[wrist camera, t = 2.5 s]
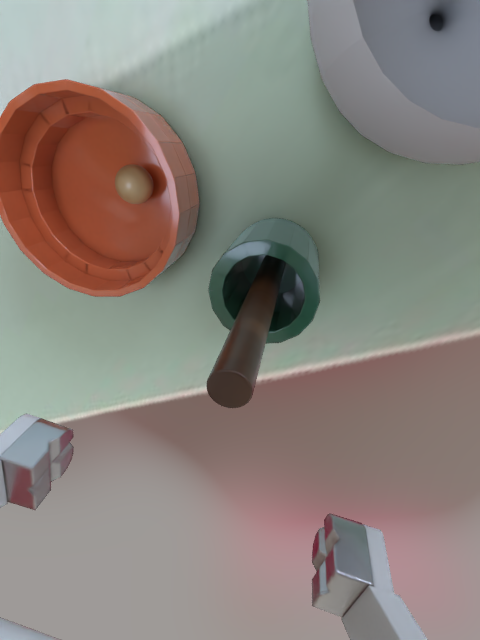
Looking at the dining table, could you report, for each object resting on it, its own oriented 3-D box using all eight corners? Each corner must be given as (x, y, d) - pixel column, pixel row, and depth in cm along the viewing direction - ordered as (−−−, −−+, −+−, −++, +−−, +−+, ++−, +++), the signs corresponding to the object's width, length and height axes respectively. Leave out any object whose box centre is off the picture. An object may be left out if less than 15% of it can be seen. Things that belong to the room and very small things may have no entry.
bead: (161, 168, 29) (145, 171, 26) (157, 205, 30) (141, 211, 27) (127, 159, 29) (108, 160, 26) (124, 196, 30) (106, 201, 28)
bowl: (216, 119, 27) (194, 113, 22) (186, 293, 34) (164, 318, 29) (35, 71, 28) (-24, 55, 23) (43, 251, 35) (0, 267, 30)
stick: (288, 255, 30) (257, 379, 14) (281, 276, 31) (246, 414, 15) (266, 249, 30) (210, 364, 14) (260, 270, 31) (202, 400, 15)
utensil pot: (331, 231, 29) (336, 259, 22) (302, 310, 32) (299, 356, 25) (243, 207, 29) (220, 226, 22) (225, 287, 33) (200, 326, 26)
